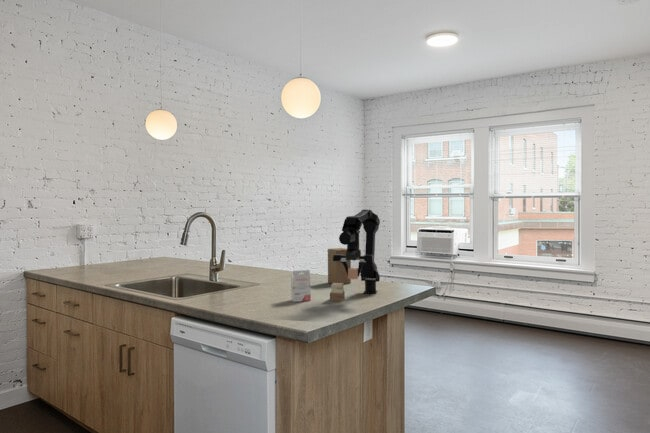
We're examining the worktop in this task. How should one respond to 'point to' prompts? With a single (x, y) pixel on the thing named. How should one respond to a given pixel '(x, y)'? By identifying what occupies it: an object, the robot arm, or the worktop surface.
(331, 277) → the wooden block
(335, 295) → the tower base
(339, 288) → the tower middle
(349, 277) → the terracotta block
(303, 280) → the ink cartridge box
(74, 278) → the worktop surface
